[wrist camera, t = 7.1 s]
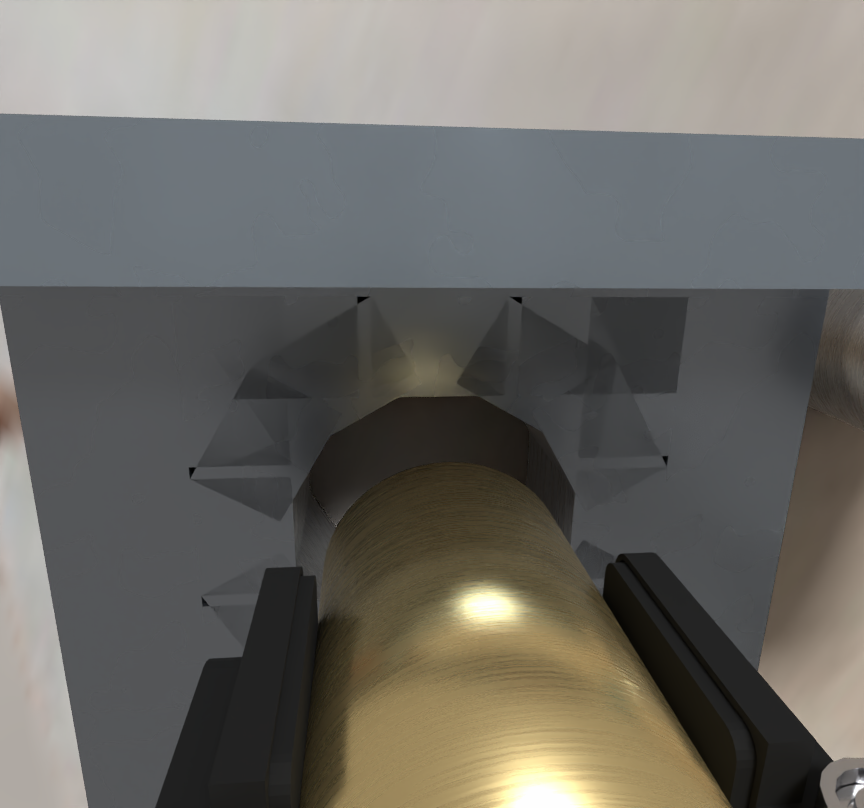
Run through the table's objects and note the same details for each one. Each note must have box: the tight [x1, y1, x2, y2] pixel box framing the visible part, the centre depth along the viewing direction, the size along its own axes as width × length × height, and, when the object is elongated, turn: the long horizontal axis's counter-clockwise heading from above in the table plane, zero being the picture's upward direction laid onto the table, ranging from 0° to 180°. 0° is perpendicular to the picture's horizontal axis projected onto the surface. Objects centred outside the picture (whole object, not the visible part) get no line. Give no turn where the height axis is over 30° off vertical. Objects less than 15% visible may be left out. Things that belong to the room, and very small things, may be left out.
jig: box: [0, 114, 864, 808], centre depth 15 cm, size 16×16×6 cm
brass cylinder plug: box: [299, 462, 732, 808], centre depth 8 cm, size 5×5×8 cm
